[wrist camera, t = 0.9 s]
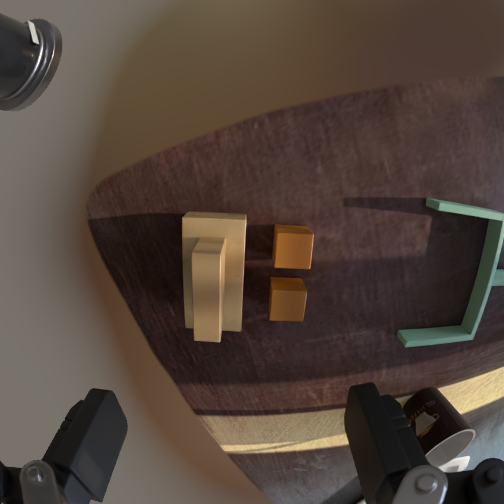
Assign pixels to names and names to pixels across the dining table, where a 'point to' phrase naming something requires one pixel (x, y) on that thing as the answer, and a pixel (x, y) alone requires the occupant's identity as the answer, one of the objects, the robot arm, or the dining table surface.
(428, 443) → the coffee mug
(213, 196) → the dining table surface
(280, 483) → the dining table surface
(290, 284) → the crumb
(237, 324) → the stepped wooden block
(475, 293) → the green u-shaped pusher
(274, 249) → the crumb
